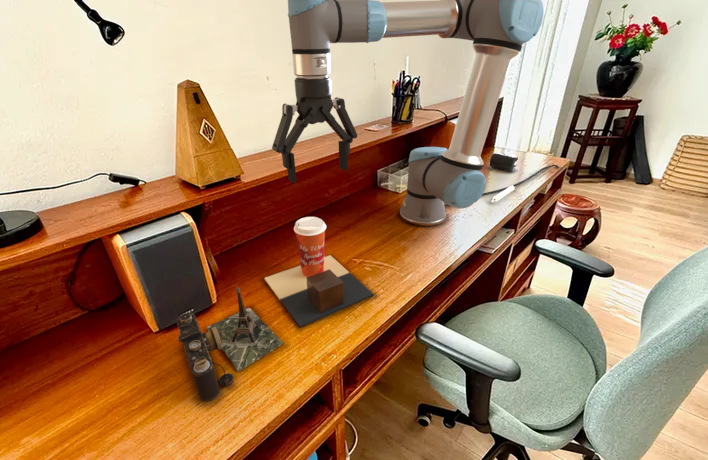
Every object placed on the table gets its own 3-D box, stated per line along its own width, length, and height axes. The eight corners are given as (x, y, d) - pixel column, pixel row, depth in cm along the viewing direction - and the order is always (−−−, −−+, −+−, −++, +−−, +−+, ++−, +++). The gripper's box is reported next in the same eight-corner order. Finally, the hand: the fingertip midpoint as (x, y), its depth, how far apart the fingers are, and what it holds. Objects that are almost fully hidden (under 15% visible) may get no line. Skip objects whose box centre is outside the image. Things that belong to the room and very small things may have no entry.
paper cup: (300, 282, 89) (295, 232, 82) (296, 265, 95) (291, 217, 88) (331, 277, 91) (329, 228, 84) (325, 261, 97) (323, 214, 90)
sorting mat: (330, 256, 100) (330, 254, 100) (373, 295, 85) (373, 293, 85) (264, 279, 91) (264, 277, 90) (299, 327, 76) (299, 325, 76)
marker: (493, 205, 130) (494, 199, 128) (487, 203, 131) (488, 197, 130) (514, 191, 141) (515, 185, 140) (509, 190, 142) (510, 184, 141)
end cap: (488, 169, 164) (490, 154, 160) (494, 165, 168) (497, 151, 165) (509, 174, 158) (513, 159, 155) (516, 170, 162) (519, 155, 159)
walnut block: (330, 289, 86) (329, 269, 83) (343, 303, 82) (343, 282, 79) (307, 298, 83) (306, 277, 80) (320, 313, 79) (319, 291, 76)
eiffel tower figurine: (205, 329, 76) (191, 277, 69) (249, 307, 82) (240, 257, 75) (238, 373, 66) (225, 317, 59) (286, 344, 72) (279, 291, 65)
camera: (238, 387, 63) (231, 355, 59) (198, 406, 60) (188, 373, 56) (214, 330, 75) (207, 300, 71) (180, 343, 72) (170, 312, 68)
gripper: (261, 83, 65) (275, 192, 76) (372, 73, 78) (371, 168, 88) (247, 79, 71) (262, 181, 81) (353, 70, 83) (354, 160, 93)
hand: (319, 174), depth 85 cm, fingers open, 13 cm apart
